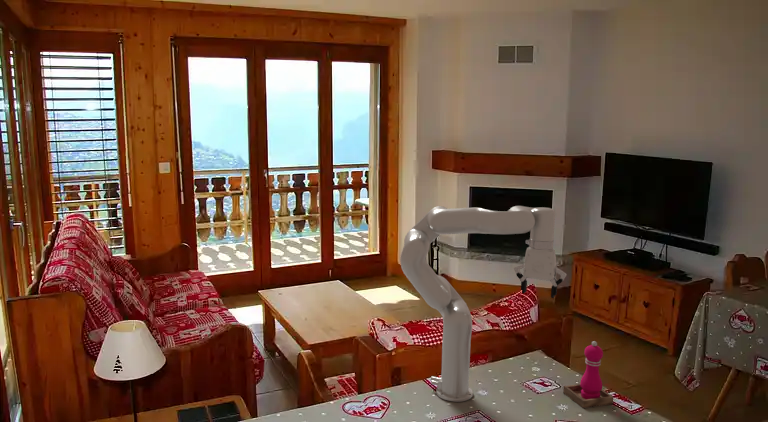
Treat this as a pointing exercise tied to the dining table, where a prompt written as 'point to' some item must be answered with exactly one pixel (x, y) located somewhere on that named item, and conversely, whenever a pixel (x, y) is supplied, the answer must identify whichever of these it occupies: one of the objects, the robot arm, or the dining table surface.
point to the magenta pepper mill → (592, 372)
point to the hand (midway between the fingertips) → (538, 294)
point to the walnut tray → (575, 395)
